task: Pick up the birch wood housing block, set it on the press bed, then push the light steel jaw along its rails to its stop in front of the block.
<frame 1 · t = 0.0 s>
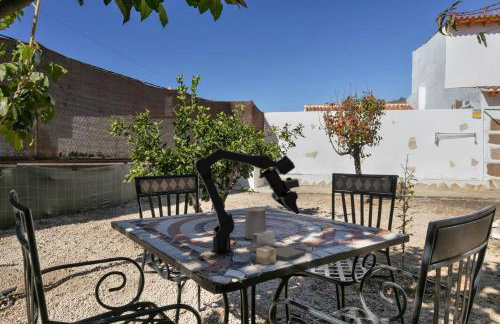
hand: (294, 212, 153), 15 cm above the table, tool tilted 35°, fingers open, 9 cm apart
housing block: (266, 262, 132), on the table
pillar candle: (255, 237, 171), on the table
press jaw: (263, 238, 149), point 5 cm above the table, slide at 0.0 cm
press bed: (282, 254, 141), on the table
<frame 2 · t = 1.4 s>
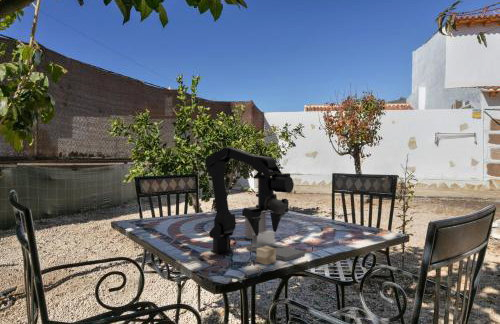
hand: (266, 233, 132), 10 cm above the table, tool pointing down, fingers open, 9 cm apart
nothing on the table moved.
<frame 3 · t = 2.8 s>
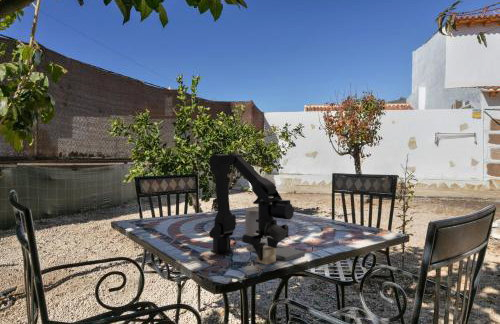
hand: (266, 258, 132), 1 cm above the table, tool pointing down, fingers closed on housing block, 5 cm apart
housing block: (266, 261, 132), on the table, touching gripper
everything else where it was.
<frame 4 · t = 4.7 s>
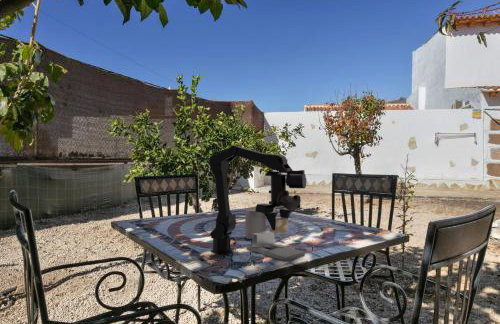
hand: (278, 229, 136), 11 cm above the table, tool pointing down, fingers closed on housing block, 5 cm apart
housing block: (278, 231, 136), point 10 cm above the table, touching gripper
everything else where it was.
when the fingers open (4 cm above the table, at t = 6.7 s): housing block drops 1 cm, resting on press bed.
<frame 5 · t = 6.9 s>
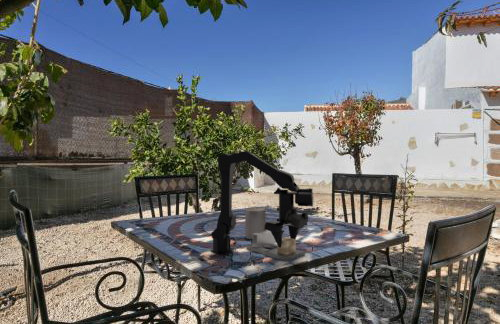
hand: (286, 245, 140), 4 cm above the table, tool pointing down, fingers open, 7 cm apart
housing block: (286, 252, 140), point 1 cm above the table, touching press bed
everything else where it was.
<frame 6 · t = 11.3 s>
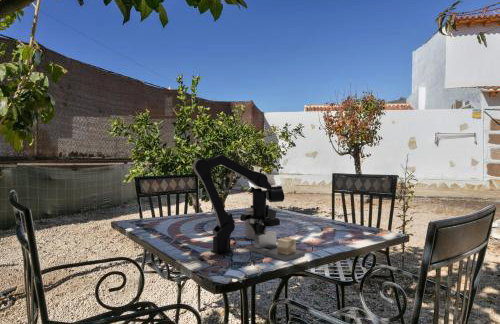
hand: (259, 239, 151), 4 cm above the table, tool pointing down, fingers closed
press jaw: (265, 239, 148), point 4 cm above the table, slide at 1.2 cm, touching gripper
everything else where it was.
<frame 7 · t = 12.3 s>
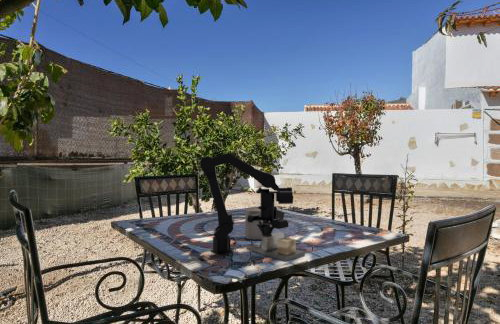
hand: (267, 241, 148), 4 cm above the table, tool pointing down, fingers closed
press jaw: (272, 241, 145), point 4 cm above the table, slide at 5.6 cm, touching gripper
everything else where it was.
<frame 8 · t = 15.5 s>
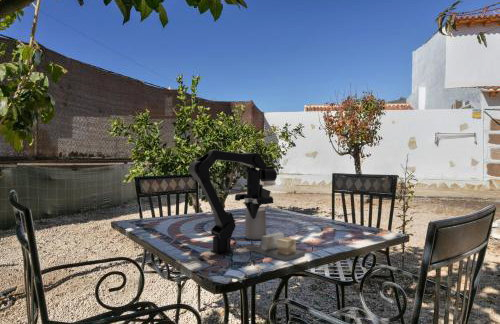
hand: (253, 218, 154), 12 cm above the table, tool pointing down, fingers closed
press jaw: (272, 240, 145), point 4 cm above the table, slide at 5.5 cm
everything else where it was.
at the end: housing block 0.0 cm from the target spot, point 1.5 cm above the table; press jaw slide at 5.5 cm; housing block tilted 0° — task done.
